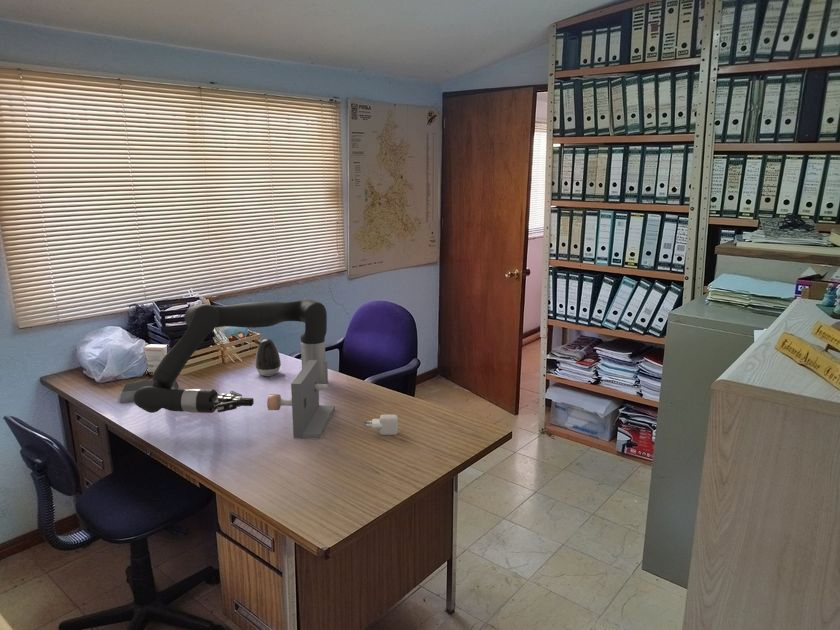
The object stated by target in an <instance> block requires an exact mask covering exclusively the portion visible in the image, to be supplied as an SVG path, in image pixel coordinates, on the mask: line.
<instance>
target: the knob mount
mask: <svg viewBox="0 0 840 630" xmlns="http://www.w3.org/2000/svg"><path fill="white" fill-rule="evenodd" d="M314 384H318V360H309V361H308V362H307V363H306V365H305V366H304V367H303V369H302V368H301V370H300V372H299V373H298V374H297V375H296V377H294V379H293V380H292V382H291V383H290V387H291V388H290V389H291V400H292V406H291V411H292V412H291V413H292V414H291V415H292V432H293V433H292V434H293V439H309V438H315V440H317V439H318V440H319V439H322V436H323V434H324V432H325V430H326V428H327V426H328V424H329V422H330V420H331V418H332V416H333V414H334V413H335V410H336V407H335V405H329V404H324V405H323V404H321V405H320V394H319V393H320V390H315V387H314ZM316 438H317V439H316Z"/></svg>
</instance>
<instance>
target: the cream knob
mask: <svg viewBox="0 0 840 630" xmlns="http://www.w3.org/2000/svg"><path fill="white" fill-rule="evenodd" d="M314 387H315V390H319V391H321V390H322V391H328V389H329V386H328V383H326V384H314Z"/></svg>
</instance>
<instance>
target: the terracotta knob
mask: <svg viewBox="0 0 840 630" xmlns="http://www.w3.org/2000/svg"><path fill="white" fill-rule="evenodd" d="M281 396H282V395H281V394H277V393H275V394H273V393H272V394H271V393H269V395H268V396H267V400H266V401H267V402H266V405H267V410H268V411H280V409H281V407H283V406H284V407H285V406H286V407H292V398H291V399H289V398H288V399H285V398H283V399H282V397H281Z"/></svg>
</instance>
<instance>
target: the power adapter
mask: <svg viewBox="0 0 840 630" xmlns="http://www.w3.org/2000/svg"><path fill="white" fill-rule="evenodd" d="M362 427H371V429H379V434H380V435H381V436H396V435H398V434H399V417H398V415H397V414H380V416H379V418H372V420H363V424H362Z"/></svg>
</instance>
